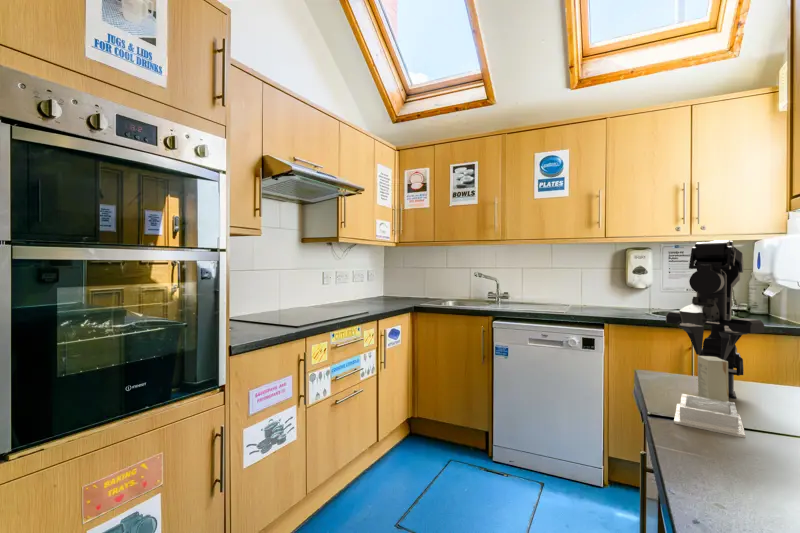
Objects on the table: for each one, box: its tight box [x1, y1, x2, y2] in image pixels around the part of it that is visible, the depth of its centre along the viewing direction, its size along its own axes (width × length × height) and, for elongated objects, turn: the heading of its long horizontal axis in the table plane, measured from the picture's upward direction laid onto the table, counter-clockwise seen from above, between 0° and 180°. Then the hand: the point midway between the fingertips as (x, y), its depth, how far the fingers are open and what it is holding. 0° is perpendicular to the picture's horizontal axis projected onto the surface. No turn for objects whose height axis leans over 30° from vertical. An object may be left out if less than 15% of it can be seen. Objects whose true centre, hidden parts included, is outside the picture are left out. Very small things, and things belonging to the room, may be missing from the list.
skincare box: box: [697, 355, 730, 402], centre depth 98 cm, size 6×4×12 cm
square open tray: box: [673, 393, 746, 439], centre depth 89 cm, size 14×12×4 cm
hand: (710, 357), depth 95 cm, fingers open, 5 cm apart
